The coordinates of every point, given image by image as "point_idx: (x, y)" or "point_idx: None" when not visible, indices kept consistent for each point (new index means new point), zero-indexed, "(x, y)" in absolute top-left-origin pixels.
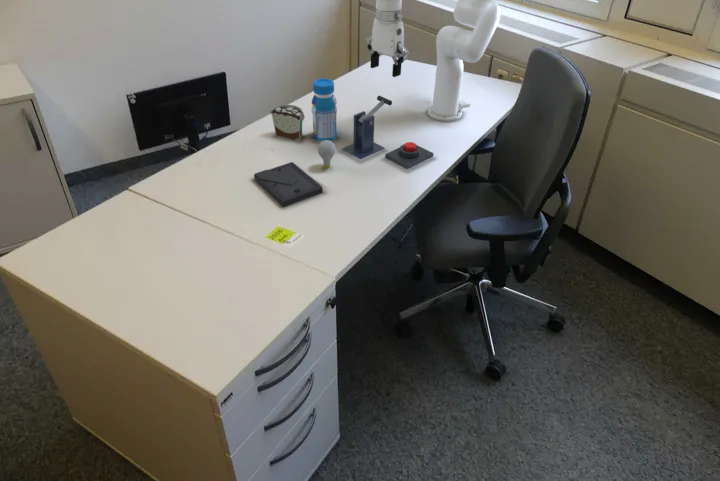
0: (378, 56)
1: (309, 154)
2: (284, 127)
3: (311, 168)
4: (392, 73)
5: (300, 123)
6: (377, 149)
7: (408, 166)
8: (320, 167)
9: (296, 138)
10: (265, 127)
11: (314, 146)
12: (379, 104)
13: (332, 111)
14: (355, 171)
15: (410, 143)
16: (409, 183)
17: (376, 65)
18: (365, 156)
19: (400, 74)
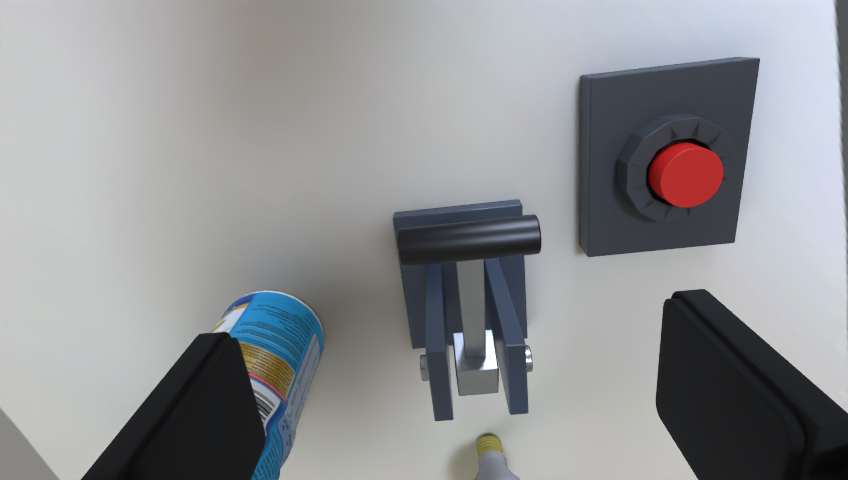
0: (165, 464)
1: (359, 431)
2: None
3: (447, 468)
4: (676, 439)
5: None
6: None
7: (732, 238)
8: (460, 446)
9: None
10: (82, 450)
11: (314, 392)
12: (475, 287)
13: (285, 431)
14: (563, 377)
15: (684, 168)
16: (776, 279)
17: (240, 386)
18: (525, 313)
19: (700, 289)
